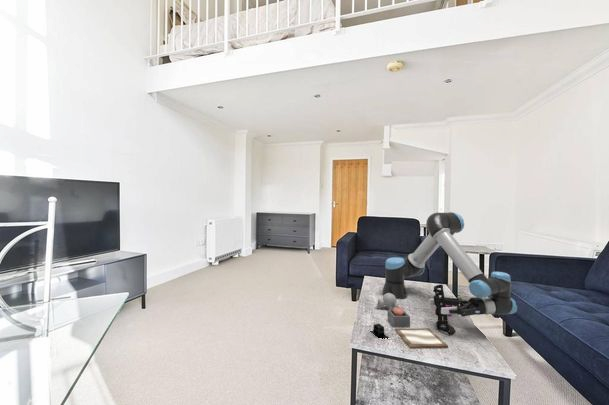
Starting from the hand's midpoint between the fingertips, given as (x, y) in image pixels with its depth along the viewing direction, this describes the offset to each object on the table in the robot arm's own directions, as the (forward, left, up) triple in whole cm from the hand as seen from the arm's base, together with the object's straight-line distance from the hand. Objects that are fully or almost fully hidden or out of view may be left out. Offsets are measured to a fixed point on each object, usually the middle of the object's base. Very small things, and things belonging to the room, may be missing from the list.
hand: (435, 306), depth 124 cm
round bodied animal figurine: (-25, -14, -11) cm, 31 cm away
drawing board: (+8, -11, -11) cm, 18 cm away
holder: (0, +4, -11) cm, 12 cm away
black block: (+4, -28, -12) cm, 31 cm away
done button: (-7, -15, -7) cm, 18 cm away
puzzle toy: (-17, +14, -11) cm, 25 cm away
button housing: (-7, -15, -11) cm, 20 cm away
